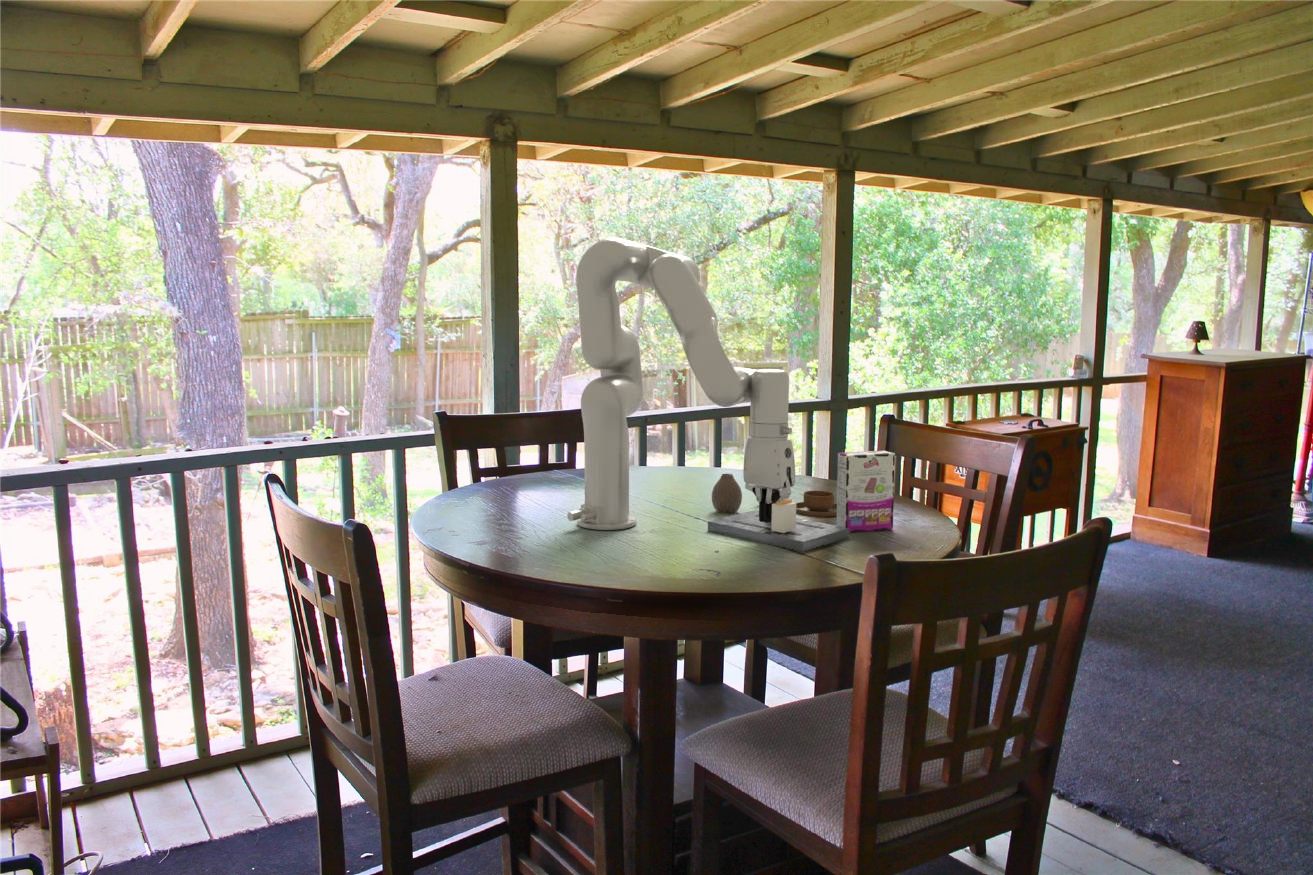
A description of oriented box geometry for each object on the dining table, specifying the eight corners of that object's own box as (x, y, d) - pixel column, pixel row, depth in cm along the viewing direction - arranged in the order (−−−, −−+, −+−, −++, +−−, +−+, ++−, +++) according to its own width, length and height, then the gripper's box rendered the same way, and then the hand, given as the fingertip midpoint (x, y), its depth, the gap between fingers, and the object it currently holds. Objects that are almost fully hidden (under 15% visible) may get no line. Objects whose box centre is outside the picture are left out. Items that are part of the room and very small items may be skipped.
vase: (739, 516, 204) (740, 477, 203) (709, 514, 205) (710, 476, 204) (743, 509, 211) (744, 472, 209) (713, 508, 212) (714, 471, 211)
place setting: (800, 522, 200) (801, 496, 200) (753, 505, 218) (753, 481, 218) (864, 516, 208) (865, 490, 207) (813, 499, 226) (814, 476, 225)
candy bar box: (881, 525, 196) (884, 449, 194) (893, 530, 191) (896, 453, 189) (834, 527, 193) (836, 451, 191) (845, 533, 188) (848, 455, 186)
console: (803, 551, 173) (803, 541, 173) (707, 530, 190) (707, 520, 189) (848, 537, 185) (849, 527, 184) (755, 518, 201) (755, 509, 201)
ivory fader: (783, 532, 178) (784, 502, 178) (771, 530, 180) (771, 500, 180) (795, 529, 181) (796, 499, 181) (783, 527, 183) (784, 497, 183)
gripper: (811, 432, 179) (808, 524, 181) (750, 426, 189) (749, 512, 192) (788, 436, 173) (786, 530, 176) (727, 429, 184) (726, 518, 186)
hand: (767, 521), depth 184 cm, fingers closed
